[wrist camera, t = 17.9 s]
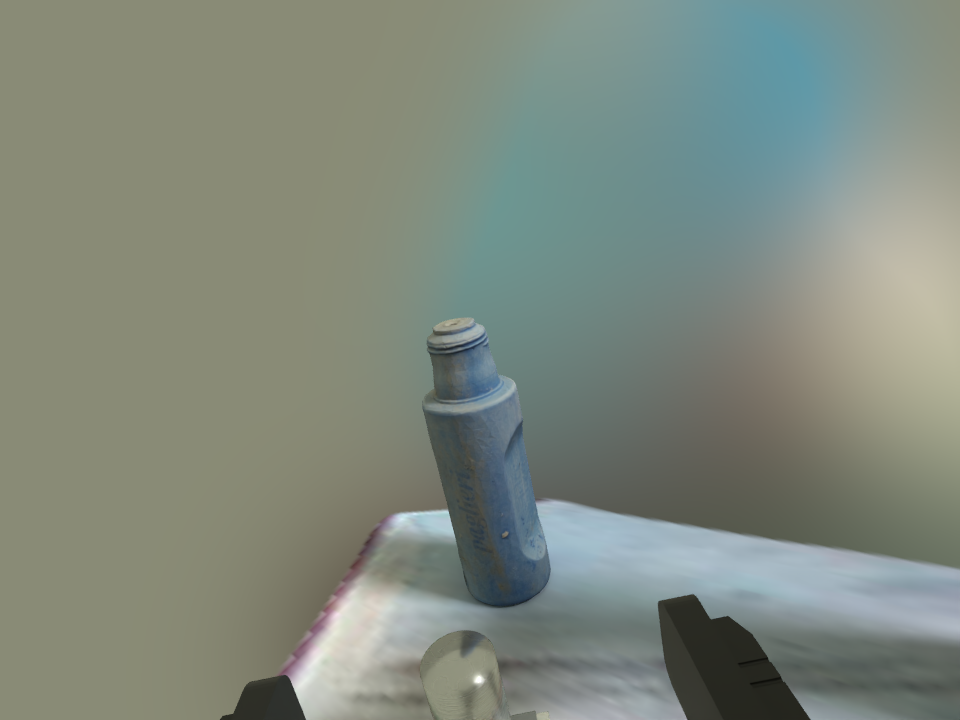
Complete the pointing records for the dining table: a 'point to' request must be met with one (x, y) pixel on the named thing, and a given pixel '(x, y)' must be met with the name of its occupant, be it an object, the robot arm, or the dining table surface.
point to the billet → (463, 679)
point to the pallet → (531, 716)
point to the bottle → (484, 467)
